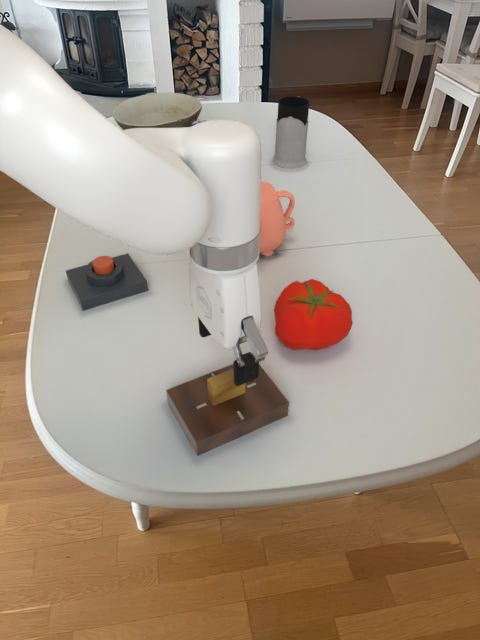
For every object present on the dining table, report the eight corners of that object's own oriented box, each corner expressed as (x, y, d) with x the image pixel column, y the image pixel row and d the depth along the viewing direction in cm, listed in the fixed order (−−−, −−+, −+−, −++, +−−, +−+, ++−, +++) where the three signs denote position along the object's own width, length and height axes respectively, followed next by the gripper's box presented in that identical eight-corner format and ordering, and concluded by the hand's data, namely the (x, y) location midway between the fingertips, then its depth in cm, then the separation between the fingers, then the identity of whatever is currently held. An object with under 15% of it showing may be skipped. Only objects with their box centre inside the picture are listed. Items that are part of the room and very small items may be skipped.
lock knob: (213, 406, 70) (212, 385, 68) (208, 398, 71) (206, 377, 69) (245, 392, 72) (245, 372, 69) (240, 385, 73) (240, 364, 70)
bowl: (101, 153, 138) (94, 115, 131) (140, 122, 155) (135, 87, 148) (184, 165, 133) (181, 126, 126) (214, 131, 150) (213, 95, 143)
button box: (82, 310, 90) (78, 292, 87) (67, 280, 96) (63, 262, 94) (148, 290, 94) (145, 272, 91) (129, 262, 101) (126, 245, 98)
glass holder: (269, 166, 133) (272, 106, 123) (279, 144, 143) (283, 87, 133) (303, 169, 131) (309, 109, 121) (311, 147, 142) (317, 90, 132)
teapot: (191, 249, 104) (187, 187, 95) (237, 214, 115) (238, 155, 106) (260, 276, 98) (263, 212, 89) (302, 236, 108) (308, 175, 99)
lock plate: (197, 456, 68) (196, 441, 66) (167, 403, 75) (165, 389, 72) (287, 415, 73) (289, 401, 71) (252, 369, 80) (253, 355, 77)
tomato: (343, 374, 79) (351, 331, 73) (262, 357, 81) (264, 315, 76) (353, 316, 89) (361, 275, 83) (281, 303, 91) (284, 262, 86)
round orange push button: (97, 277, 91) (95, 269, 90) (91, 267, 93) (89, 258, 92) (117, 271, 92) (115, 263, 91) (110, 261, 95) (109, 253, 94)
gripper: (160, 215, 60) (174, 325, 71) (230, 299, 48) (233, 414, 60) (219, 199, 62) (223, 308, 74) (298, 275, 51) (288, 390, 62)
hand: (227, 355), depth 67 cm, fingers open, 9 cm apart
